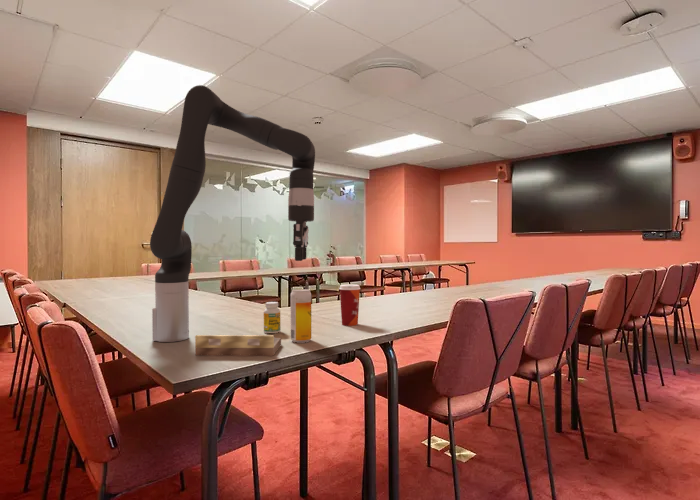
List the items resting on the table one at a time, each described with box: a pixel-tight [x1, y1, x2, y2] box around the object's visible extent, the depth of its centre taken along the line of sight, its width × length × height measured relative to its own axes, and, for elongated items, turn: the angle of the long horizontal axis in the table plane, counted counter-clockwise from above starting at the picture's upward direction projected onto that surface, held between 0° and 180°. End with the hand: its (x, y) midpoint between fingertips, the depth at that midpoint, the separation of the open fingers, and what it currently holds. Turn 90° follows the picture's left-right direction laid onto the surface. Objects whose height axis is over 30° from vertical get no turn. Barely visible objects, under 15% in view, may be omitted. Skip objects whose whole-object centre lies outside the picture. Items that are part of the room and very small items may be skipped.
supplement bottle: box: [263, 301, 281, 334], centre depth 133 cm, size 5×5×10 cm
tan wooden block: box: [194, 334, 282, 357], centre depth 111 cm, size 20×11×5 cm, turn 89°
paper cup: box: [338, 283, 362, 327], centre depth 146 cm, size 8×8×14 cm
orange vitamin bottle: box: [290, 288, 312, 344], centre depth 121 cm, size 6×6×15 cm
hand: (300, 260), depth 121 cm, fingers open, 8 cm apart
